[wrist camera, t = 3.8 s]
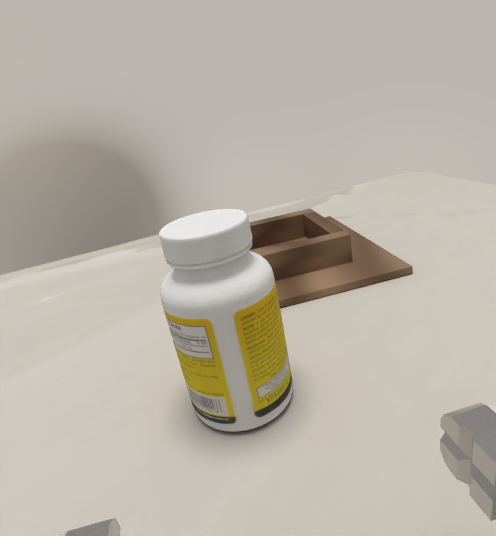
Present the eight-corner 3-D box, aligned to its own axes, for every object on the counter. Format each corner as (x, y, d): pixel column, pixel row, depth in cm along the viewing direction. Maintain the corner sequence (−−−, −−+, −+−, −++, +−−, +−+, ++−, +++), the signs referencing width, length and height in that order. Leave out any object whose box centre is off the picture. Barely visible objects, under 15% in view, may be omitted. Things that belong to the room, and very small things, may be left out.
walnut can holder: (208, 326, 28) (199, 289, 27) (192, 254, 43) (185, 227, 42) (412, 273, 30) (412, 236, 29) (330, 221, 45) (328, 195, 44)
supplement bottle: (285, 356, 24) (259, 196, 20) (302, 425, 19) (272, 228, 15) (196, 373, 24) (152, 216, 20) (190, 445, 19) (130, 255, 15)
